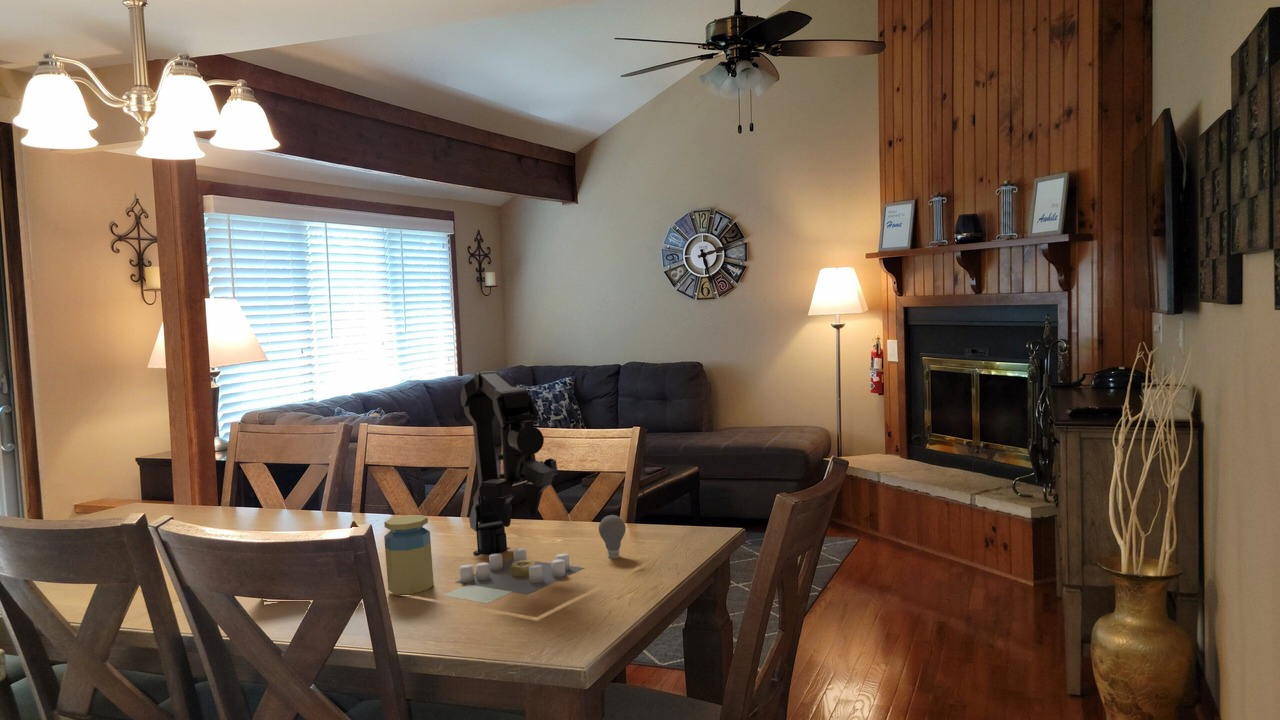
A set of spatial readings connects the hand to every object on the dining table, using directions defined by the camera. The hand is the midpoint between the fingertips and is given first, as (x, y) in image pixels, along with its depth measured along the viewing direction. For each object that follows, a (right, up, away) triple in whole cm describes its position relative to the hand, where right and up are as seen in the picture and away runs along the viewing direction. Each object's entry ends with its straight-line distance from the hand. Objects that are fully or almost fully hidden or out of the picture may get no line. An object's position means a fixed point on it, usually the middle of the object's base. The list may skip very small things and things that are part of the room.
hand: (520, 521), depth 193 cm
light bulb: (+20, -11, +10) cm, 24 cm away
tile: (-7, -13, -11) cm, 18 cm away
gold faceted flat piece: (0, -11, +1) cm, 11 cm away
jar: (-22, -14, -4) cm, 26 cm away
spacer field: (0, -12, 0) cm, 12 cm away
